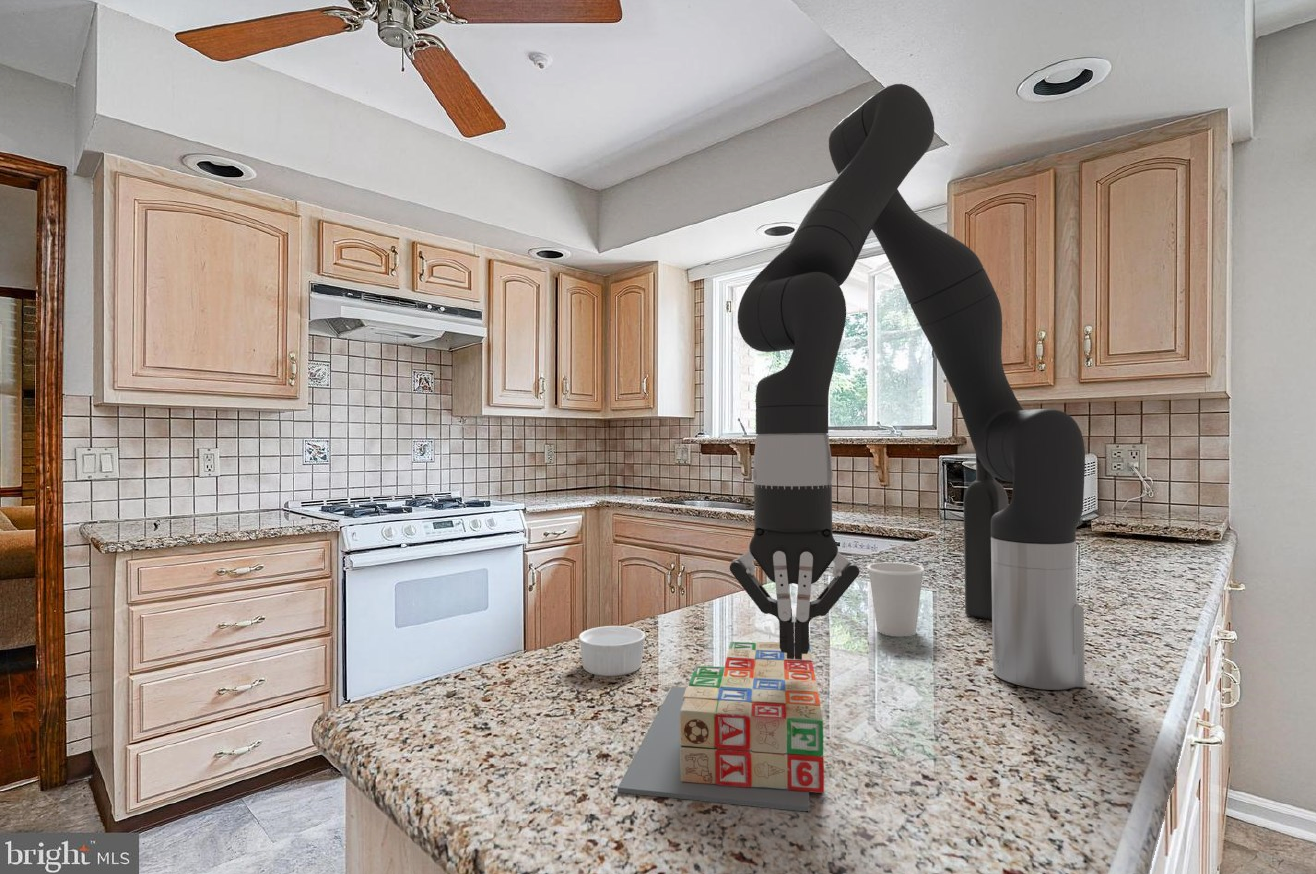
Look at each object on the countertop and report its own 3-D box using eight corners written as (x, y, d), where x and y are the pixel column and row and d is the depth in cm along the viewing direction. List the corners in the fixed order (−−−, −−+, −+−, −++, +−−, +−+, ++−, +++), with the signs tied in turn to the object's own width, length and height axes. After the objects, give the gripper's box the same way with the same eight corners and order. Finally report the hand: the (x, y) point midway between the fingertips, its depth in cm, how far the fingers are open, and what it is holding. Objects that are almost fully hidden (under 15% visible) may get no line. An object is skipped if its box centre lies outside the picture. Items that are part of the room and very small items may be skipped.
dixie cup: (895, 642, 98) (893, 574, 98) (856, 628, 106) (855, 565, 106) (937, 635, 102) (936, 569, 102) (897, 621, 109) (896, 560, 109)
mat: (808, 699, 77) (807, 695, 77) (809, 811, 54) (809, 807, 54) (672, 689, 81) (671, 686, 81) (617, 792, 57) (617, 787, 57)
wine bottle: (1012, 616, 112) (1009, 436, 112) (998, 622, 108) (994, 436, 108) (977, 610, 116) (975, 436, 116) (962, 616, 112) (959, 436, 113)
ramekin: (659, 666, 90) (658, 633, 90) (610, 684, 83) (610, 649, 84) (613, 652, 96) (613, 622, 96) (565, 668, 90) (564, 635, 90)
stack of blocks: (811, 697, 77) (704, 691, 79) (811, 642, 77) (704, 638, 79) (824, 794, 56) (677, 783, 58) (823, 719, 56) (677, 710, 58)
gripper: (859, 478, 68) (861, 649, 68) (729, 478, 71) (730, 642, 71) (866, 483, 61) (868, 674, 61) (720, 482, 64) (722, 665, 64)
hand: (794, 656), depth 66 cm, fingers closed
